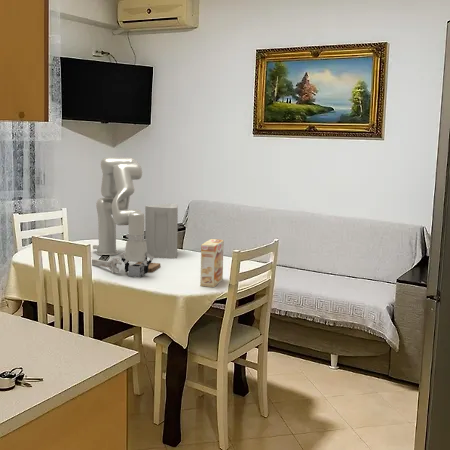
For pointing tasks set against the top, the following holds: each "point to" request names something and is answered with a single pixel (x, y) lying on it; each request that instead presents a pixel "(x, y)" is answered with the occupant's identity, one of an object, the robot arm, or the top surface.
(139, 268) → the grey slotted block
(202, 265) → the coffeecake box
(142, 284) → the top surface
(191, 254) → the top surface
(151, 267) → the shaft block
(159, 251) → the upright grey panel
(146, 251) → the robot arm
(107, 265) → the wrench
